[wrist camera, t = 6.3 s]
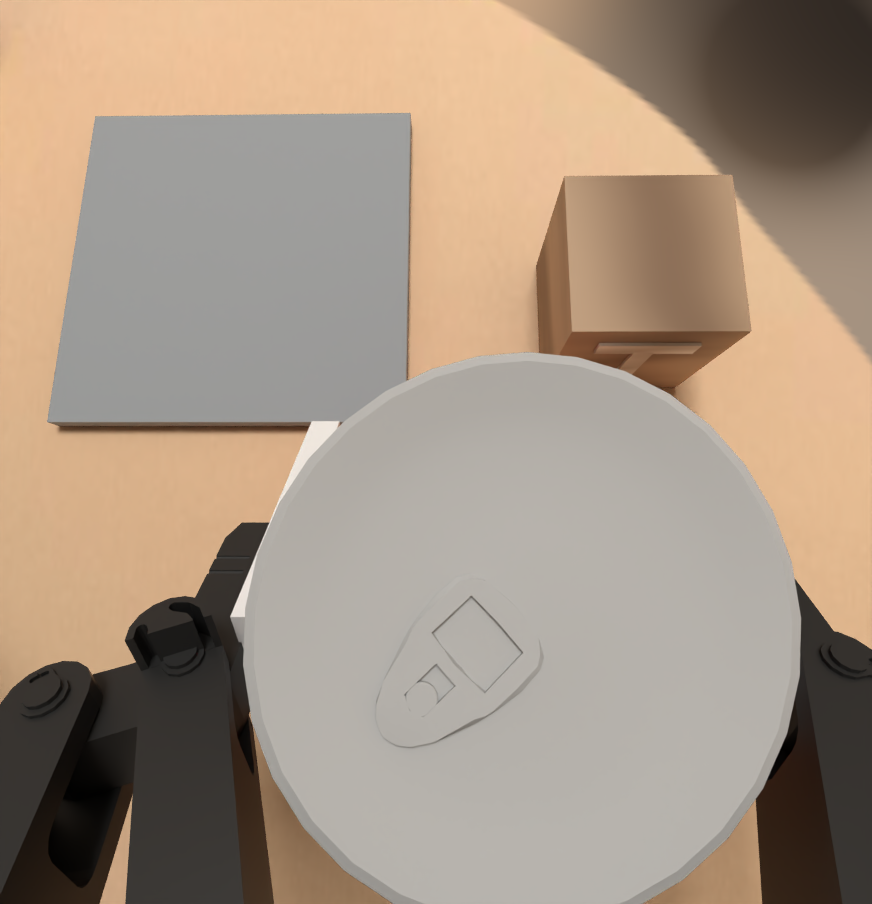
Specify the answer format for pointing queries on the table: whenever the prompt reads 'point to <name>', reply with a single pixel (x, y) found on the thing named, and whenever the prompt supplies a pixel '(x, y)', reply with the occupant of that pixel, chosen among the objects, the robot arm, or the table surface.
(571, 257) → the letter cube
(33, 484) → the table surface
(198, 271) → the mat
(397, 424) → the canned food
